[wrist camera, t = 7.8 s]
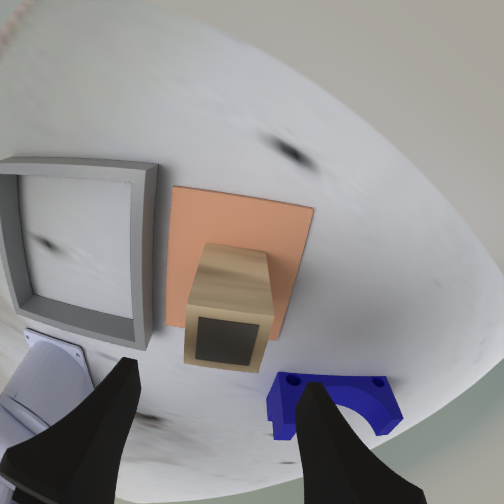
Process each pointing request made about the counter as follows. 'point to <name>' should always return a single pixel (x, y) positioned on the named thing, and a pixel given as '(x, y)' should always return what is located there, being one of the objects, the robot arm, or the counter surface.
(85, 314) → the parts tray
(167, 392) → the counter surface
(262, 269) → the part block
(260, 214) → the place mat
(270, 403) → the cable clip
